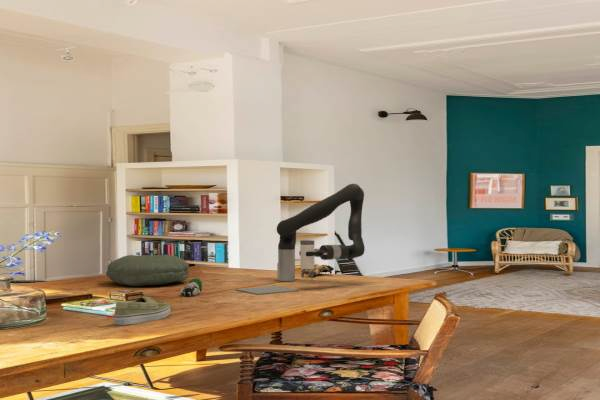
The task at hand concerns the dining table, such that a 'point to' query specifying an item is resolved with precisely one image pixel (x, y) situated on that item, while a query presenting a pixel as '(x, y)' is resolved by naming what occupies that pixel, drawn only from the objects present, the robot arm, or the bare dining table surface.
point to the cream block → (305, 261)
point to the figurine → (317, 270)
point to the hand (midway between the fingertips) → (303, 253)
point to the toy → (192, 288)
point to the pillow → (147, 270)
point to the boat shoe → (140, 311)
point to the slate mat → (267, 290)
